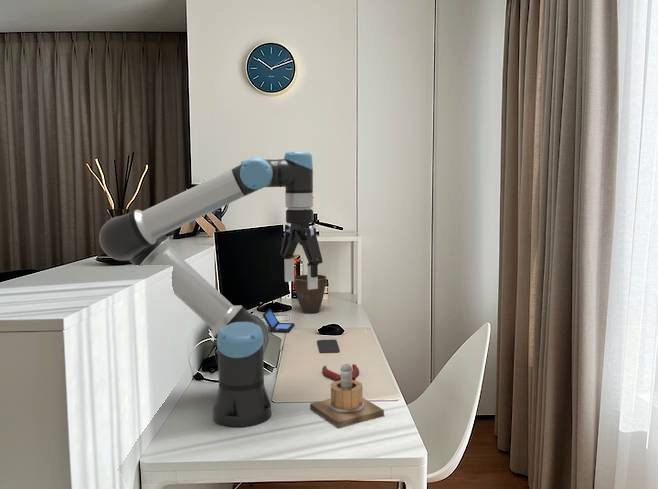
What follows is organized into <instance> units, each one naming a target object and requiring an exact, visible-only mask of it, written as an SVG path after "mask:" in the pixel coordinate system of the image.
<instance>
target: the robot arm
mask: <svg viewBox="0 0 658 489" xmlns="http://www.w3.org/2000/svg"><path fill="white" fill-rule="evenodd" d="M313 169H314V168H313V155H312V154H311V152H309V151H287V152H285V153H284V157H283V158H281V159H266V158H265V159H264V158H261V157H257V156H256V157H252V158H249V159H243V160H241V161H240V164H238V165H237V166H235V167H234V168H233V167H232V168H231V169H229V170H228V169H227V170H226V171H224V172H222V173H219V174H218V175H216V176H214V177H212V178H211V177H210V178H209V179H208V180H205V181H204V182H202V183H199V184H197V185H195V186H193V187H191V188H189V189H187V190H184V191H182V192H180V193H178V194H176V195H174V196H171V197H169V198H168V199H165V200H163V201H161V202H160V203H157V204H155V205H153V206H151V207H149V208H146V209H144V210H140V209H135V210H133V211H130V212H129V213H126V214H123V215H119V216H114V217H111V218H110V219H109V220H107V221H106V222H105V223H104V224H103V225H102V227H101V228H100V231H99V235H98V236H99V237H98V242H99V245H100V247H101V249H102V251H103V252H104V254H106V256H108V257H110V258H111V259H113V260H116V261H123V262H124V261H129V263H131V264H132V265H134V266H135V265H139V266H143V265H170V266H173V271H172V277H171V278H172V287H173V291H174V293H173V294H174V295H175V296H176V297H177V298H178V299H179V300H181V302H183V303H184V304H185V305H186V306H187V307H188V308H189V309H190V310H191V311H192V312H193V313H195V314H196V315H197V316H198V317H199V318H200V319H201V320H202V321H204V323H206V325H208V327H210V328H211V331H212V335H211V336H212V337H213V338H214V339H215V340H216V347H217V364H218V365H217V370H218V372H217V373H218V390H217V394H216V396H215V400H214V404H213V407H212V417H213V420H214V421H215V423H217V424H220V425H222V426H226V427H235V428H236V427H238V428H239V427H249V426H255V425H258V424H261V423H264V422H265V421H267V420H268V419H269V418H270V417H271V415H272V403H271V400H270V397H269V394H268V392H267V389H266V386H265V378H264V377H265V373H264V372H265V370H264V368H265V367H264V359H265V358H264V356H265V352H266V349H267V346H268V344H269V340H270V336H269V335H270V332H269V330H268V329H269V328H268V325H267V323H266V321H264V320H263V319H262V318H261V317H260V316H258V315H256V314H253V313H251V312H249V311H248V310H247V309H246V308H245V307H243V305H241V304H240V305H235V304H234V305H233V304H232V303H231V301H229V300H228V299H227V298H226V297H225V296H224V295H222V293H221V292H220V291H218V290H217V289H216V288H215V287H214V286H213V285H212V284H211V283H210V282H208V281H207V280H206V278H204V277H203V276H202V275H201V274H200V273H199V272H198V271H197V270H196V269H195V268H193V266H191V265H190V264H189V263H188V262H187V261H186V260H185V259H184V258H183V257H182V256H180V255H179V254H178V253H177V252H176V251H175V250H174V249H173V248H172V247H171V245H170V237H169V236H167V235H166V234H168V233H171V232H173V231H175V230H177V229H179V228H181V227H184V226H185V225H188V224H189V223H192V222H194V221H196V220H197V219H200V218H202V217H204V216H206V215H208V214H211V213H212V212H214V211H216V210H219V209H221V208H223V207H225V206H227V205H229V204H231V203H234V202H236V201H239V199H242V198H244V197H246V196H249V195H250V194H252V193H255V192H257V191H259V190H262V189H264V188H285V194H284V196H285V208H287V209H286V210H285V222H286V223H287V224H285V225H284V232H283V233H284V234H283V239H282V243H281V247H280V252H279V255H280V257H281V256H282V258H283V260H284V282H285V283H289V282H294V277H295V259H294V258H295V255H294V254H295V252H296V250H297V247H298V245H300V246H301V247H302V249H303V253H304V254H305V257H306V259H307V261H308V263H307V264H306V268H307V270H306V271H307V274H306V275H307V279H308V290H311V289H318V275H319V273H318V272H319V271H318V270H319V269H318V267H319V265H320V264H323V262H324V260H323V258H322V254H321V253H322V252H321V248H320V245H319V241H318V237H317V228H316V227H310V224H313V222H314V210H313V207H314V195H313V194H314V193H313V189H314V183H313V182H314V180H313V179H314V178H313V176H314V170H313Z"/></svg>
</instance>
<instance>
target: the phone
mask: <svg viewBox="0 0 658 489" xmlns="http://www.w3.org/2000/svg"><path fill="white" fill-rule="evenodd" d="M316 344H317V349H318V354H339V353H340V351H341V350H340V346H339V344H338V341H337V339H318V340H317V341H316Z"/></svg>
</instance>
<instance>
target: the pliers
mask: <svg viewBox="0 0 658 489" xmlns="http://www.w3.org/2000/svg"><path fill="white" fill-rule="evenodd" d="M351 367H352V380H353V381H356V378H357V377H358V376H359V373H360V369H359V367H358V366H357V365H356V364H354V363H353V364H352V365H351ZM321 371H322V375H323V376H324V375H325V376H326V377H325V376H324V377H325V378H327V377H328V378H327V379H329V378H331V379H330V380H332V379H333V380H332V381H334V380H335V381H339V380H341V374H340V373H336V372H334V371H332V370H329V369H328V368H327V365H324V366H322V369H321ZM335 381H334V382H335Z"/></svg>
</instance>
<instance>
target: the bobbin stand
mask: <svg viewBox="0 0 658 489" xmlns="http://www.w3.org/2000/svg"><path fill="white" fill-rule="evenodd" d="M352 371H353V370H352V365H350V364H348V363H345V364H343V365H341V367H340V375H341V388H342V389H351V388H352ZM309 404H310V405H309V406H310V410H311V411H313V412H314V413H316V414H317V415H319V416H320V417H321V418H323V419H324V420H326V421H327V422H328V423H330V424H332V425H333V426H334V427H336V428H338V429H340V428H343V427H346V426H351V425H353V424H357V423H361V422H365V421H368V420H372V419H376V418H380V417H385V410H384V409H383V408H381V407H379V406H378V405H377V404H374V403H373V402H371V401H369V400H367V399H366V398H364V397H362V406H361V407H359V408H357V409H353V410H341V409H336V408H334V407H333V406H331V398H327V399H324V400H323V399H322V400H320V401H316V402H310V403H309Z"/></svg>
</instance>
